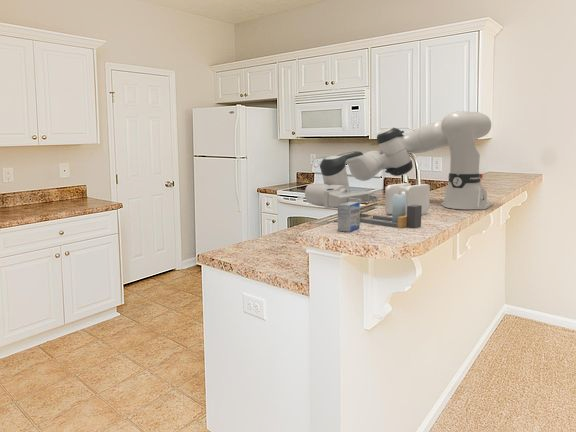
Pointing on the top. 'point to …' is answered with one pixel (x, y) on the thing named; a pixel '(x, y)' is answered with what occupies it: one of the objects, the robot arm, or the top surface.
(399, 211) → the marker sleeve
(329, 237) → the top surface
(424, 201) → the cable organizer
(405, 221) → the comb channel
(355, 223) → the medicine box
